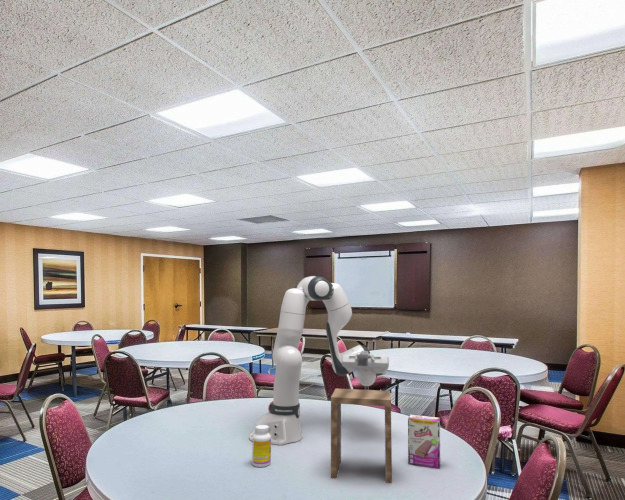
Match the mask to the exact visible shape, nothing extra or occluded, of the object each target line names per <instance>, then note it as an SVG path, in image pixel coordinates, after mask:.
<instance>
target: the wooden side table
mask: <svg viewBox="0 0 625 500" xmlns="http://www.w3.org/2000/svg"><path fill="white" fill-rule="evenodd" d="M391 398H392V397H391V390H379V389H378V390H377V389H376V390H375V389H356V388H355V389H354V388H353V389H352V388H337V387H336V388H334V391H333V393H332V394H331V396H330V479H333V478H334V480H337V479H336V478H338V476H337V475H339V472H340V466H341V463H342V405H358V406H372V407H373V406H376V407H377V406H378V407H384V443H385V445H384V448H385V450H384V451H385V452H384V455H385V456H384V458H385V460H384V461H385V463H384V465H385V484H393V462H392V457H393V455H392V453H393V452H392V451H393V449H392V448H393V447H392V445H393V444H392V399H391ZM338 471H339V472H338Z"/></svg>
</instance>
